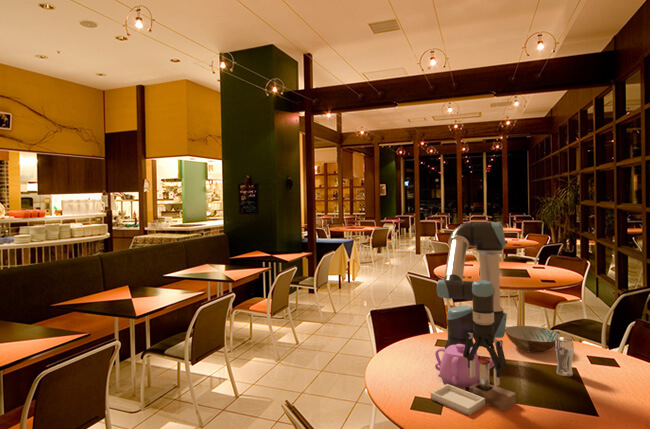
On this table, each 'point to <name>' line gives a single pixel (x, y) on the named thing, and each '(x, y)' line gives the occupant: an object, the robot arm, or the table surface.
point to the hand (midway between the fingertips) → (484, 380)
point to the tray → (458, 399)
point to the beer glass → (564, 355)
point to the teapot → (457, 366)
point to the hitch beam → (495, 396)
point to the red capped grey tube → (484, 373)
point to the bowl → (532, 338)
